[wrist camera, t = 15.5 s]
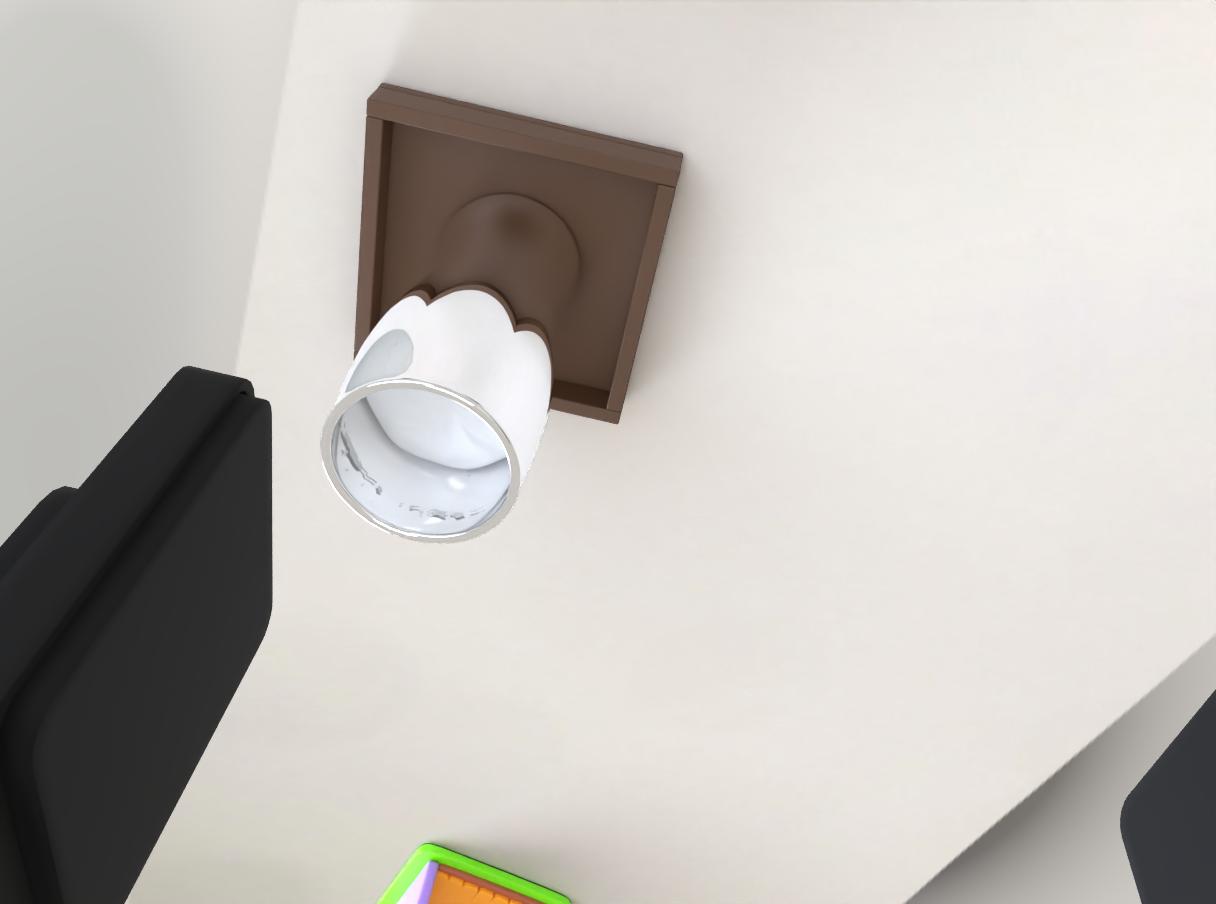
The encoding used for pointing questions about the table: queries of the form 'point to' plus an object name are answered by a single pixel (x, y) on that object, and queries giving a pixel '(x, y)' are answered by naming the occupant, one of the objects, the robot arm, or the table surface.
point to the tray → (530, 167)
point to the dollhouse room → (460, 882)
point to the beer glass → (456, 378)
